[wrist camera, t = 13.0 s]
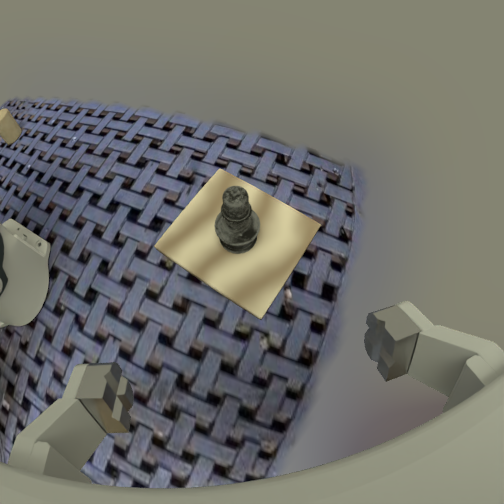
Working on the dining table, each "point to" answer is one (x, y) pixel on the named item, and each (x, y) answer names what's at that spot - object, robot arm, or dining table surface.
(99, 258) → the dining table surface
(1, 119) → the candle
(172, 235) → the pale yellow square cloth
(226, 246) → the weathered chess pawn
